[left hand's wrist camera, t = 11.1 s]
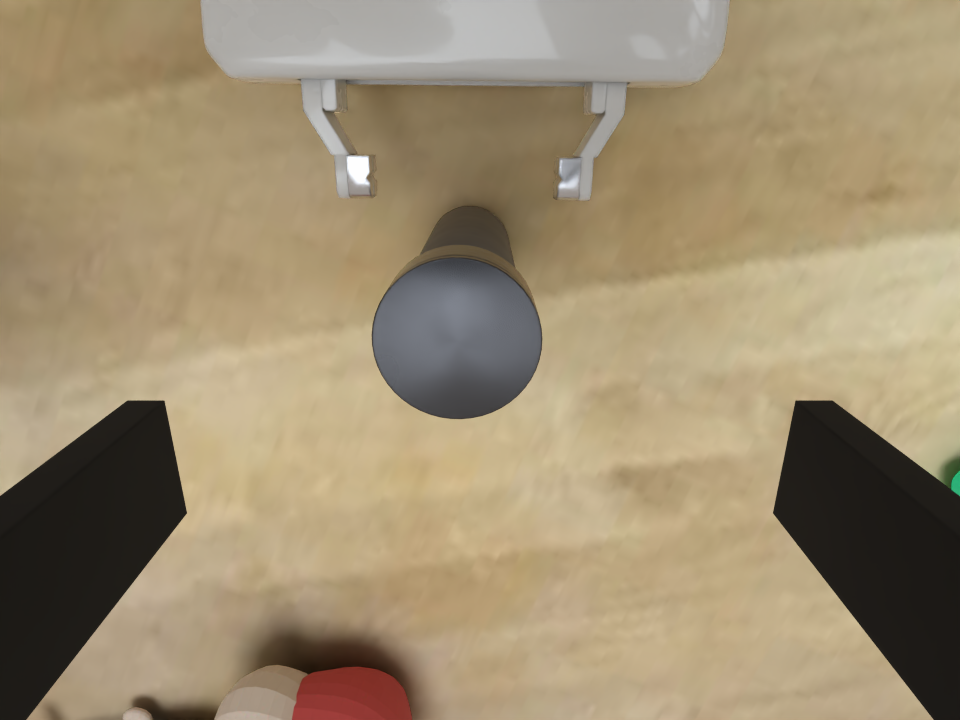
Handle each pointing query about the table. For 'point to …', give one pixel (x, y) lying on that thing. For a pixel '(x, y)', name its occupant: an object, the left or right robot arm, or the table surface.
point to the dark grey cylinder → (471, 232)
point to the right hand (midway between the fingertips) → (464, 198)
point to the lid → (457, 333)
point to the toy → (309, 696)
